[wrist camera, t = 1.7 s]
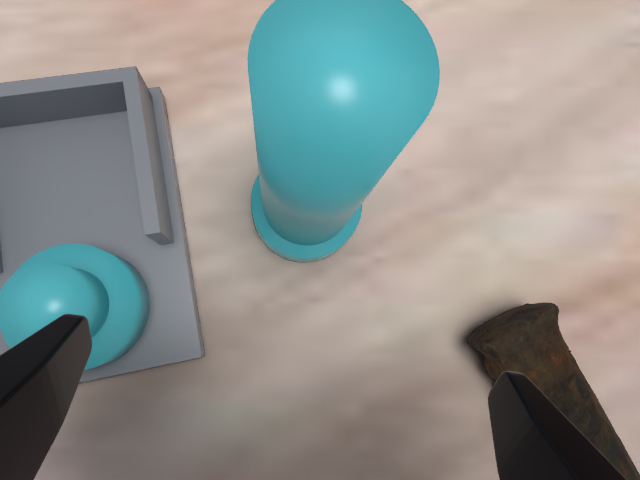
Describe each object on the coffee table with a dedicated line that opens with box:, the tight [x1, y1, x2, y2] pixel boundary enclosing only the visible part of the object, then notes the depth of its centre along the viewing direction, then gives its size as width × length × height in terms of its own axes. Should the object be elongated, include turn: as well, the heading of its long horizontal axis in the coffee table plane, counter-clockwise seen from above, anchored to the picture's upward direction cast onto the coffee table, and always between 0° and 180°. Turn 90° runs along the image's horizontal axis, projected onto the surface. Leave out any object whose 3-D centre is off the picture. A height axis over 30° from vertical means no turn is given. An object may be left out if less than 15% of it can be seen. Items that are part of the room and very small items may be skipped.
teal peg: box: [248, 0, 440, 262], centre depth 16 cm, size 5×5×13 cm
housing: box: [0, 66, 205, 383], centre depth 18 cm, size 13×9×5 cm
